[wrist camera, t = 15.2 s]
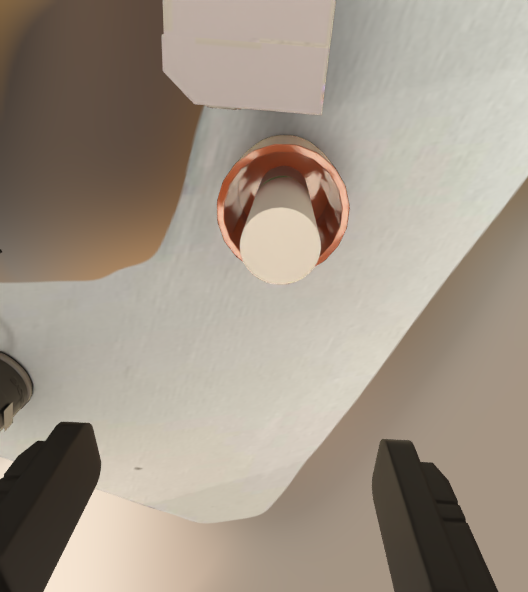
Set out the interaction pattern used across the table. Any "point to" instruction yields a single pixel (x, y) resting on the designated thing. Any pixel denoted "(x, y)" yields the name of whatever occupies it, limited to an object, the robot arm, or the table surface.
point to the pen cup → (318, 175)
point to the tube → (281, 229)
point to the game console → (249, 52)
